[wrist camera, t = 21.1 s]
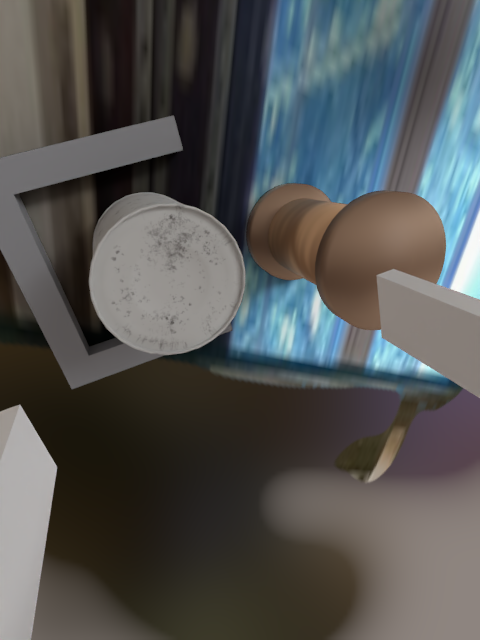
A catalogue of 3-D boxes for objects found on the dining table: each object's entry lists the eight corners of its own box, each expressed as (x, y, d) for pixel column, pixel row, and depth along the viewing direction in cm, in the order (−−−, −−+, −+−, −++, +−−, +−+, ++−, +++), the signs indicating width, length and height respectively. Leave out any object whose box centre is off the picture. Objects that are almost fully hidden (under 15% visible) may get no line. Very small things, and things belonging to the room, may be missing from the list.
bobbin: (236, 198, 36) (316, 215, 23) (323, 172, 38) (445, 174, 24) (257, 288, 40) (336, 348, 26) (335, 260, 41) (446, 304, 28)
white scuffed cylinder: (222, 245, 37) (274, 276, 26) (154, 319, 37) (177, 381, 26) (144, 166, 33) (166, 165, 22) (67, 252, 33) (51, 293, 22)
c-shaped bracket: (-33, 167, 29) (-42, 167, 27) (169, 118, 32) (173, 115, 30) (73, 378, 37) (71, 389, 35) (226, 322, 40) (232, 330, 38)
